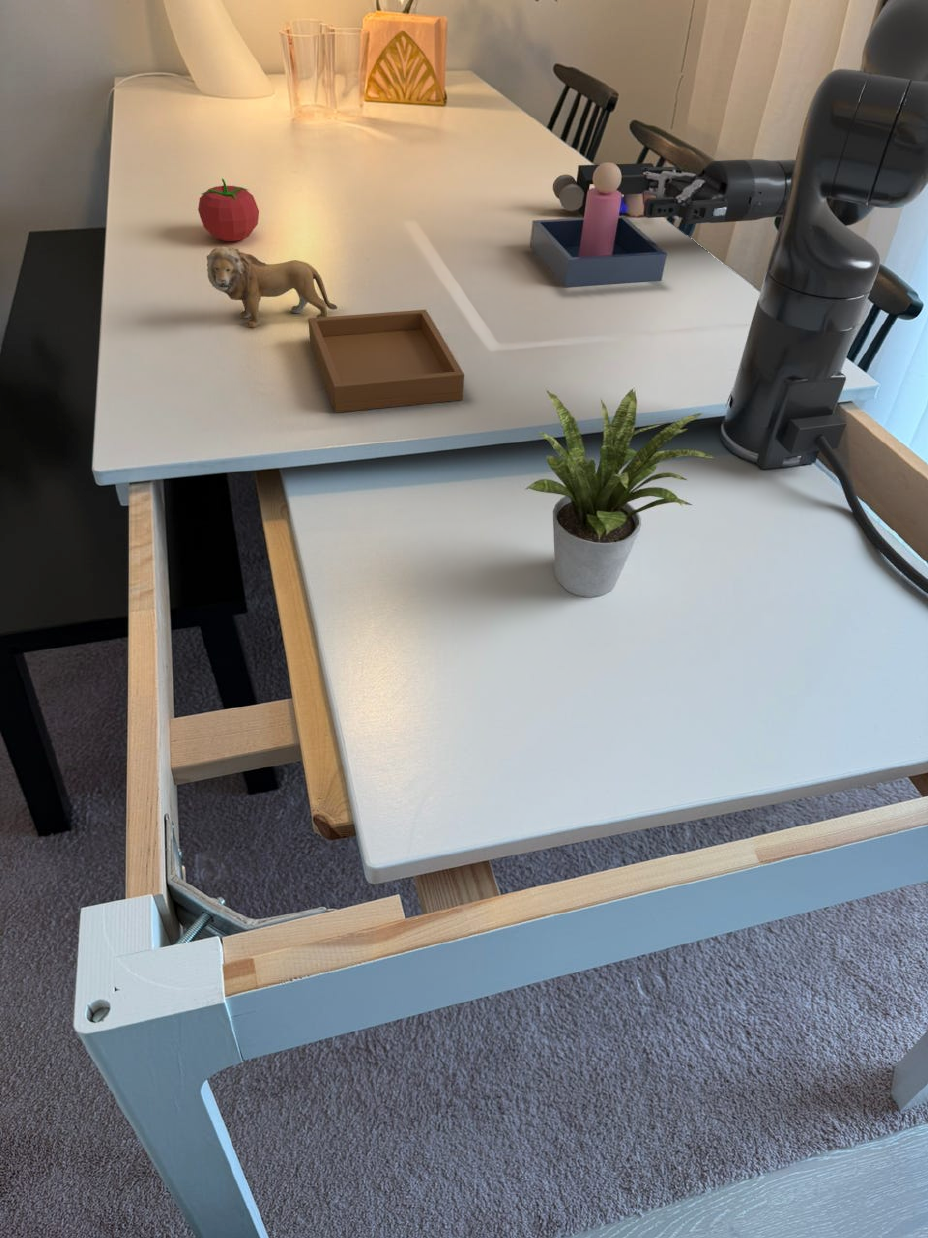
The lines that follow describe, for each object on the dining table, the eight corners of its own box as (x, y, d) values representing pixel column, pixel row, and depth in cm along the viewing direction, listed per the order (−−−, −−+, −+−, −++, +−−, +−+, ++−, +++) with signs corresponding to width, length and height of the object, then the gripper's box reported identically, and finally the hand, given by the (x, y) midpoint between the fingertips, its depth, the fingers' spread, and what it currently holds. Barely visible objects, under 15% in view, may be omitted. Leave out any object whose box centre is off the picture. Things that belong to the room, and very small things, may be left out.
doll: (615, 268, 123) (632, 167, 114) (585, 270, 122) (600, 169, 113) (602, 255, 126) (618, 156, 117) (572, 257, 125) (586, 157, 116)
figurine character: (560, 235, 137) (659, 225, 138) (561, 182, 132) (663, 171, 132) (551, 219, 142) (647, 208, 142) (552, 166, 136) (651, 156, 137)
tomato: (199, 228, 127) (191, 169, 122) (256, 225, 130) (250, 167, 124) (206, 251, 122) (198, 190, 117) (265, 247, 124) (260, 187, 119)
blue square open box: (660, 287, 122) (667, 253, 119) (564, 294, 118) (568, 259, 115) (618, 247, 131) (624, 215, 128) (529, 253, 128) (532, 220, 125)
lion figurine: (219, 337, 105) (209, 258, 98) (209, 317, 108) (198, 239, 102) (343, 320, 109) (341, 244, 103) (330, 302, 113) (326, 227, 107)
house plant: (698, 645, 72) (755, 469, 61) (523, 648, 71) (548, 468, 59) (656, 532, 82) (698, 364, 71) (502, 533, 81) (521, 362, 70)
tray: (462, 400, 97) (464, 374, 95) (335, 413, 94) (334, 386, 92) (425, 333, 108) (425, 309, 106) (309, 343, 105) (308, 317, 103)
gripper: (721, 143, 126) (612, 147, 121) (777, 178, 116) (661, 184, 112) (708, 201, 131) (603, 206, 126) (760, 239, 121) (649, 246, 117)
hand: (631, 196), depth 119 cm, fingers open, 8 cm apart
